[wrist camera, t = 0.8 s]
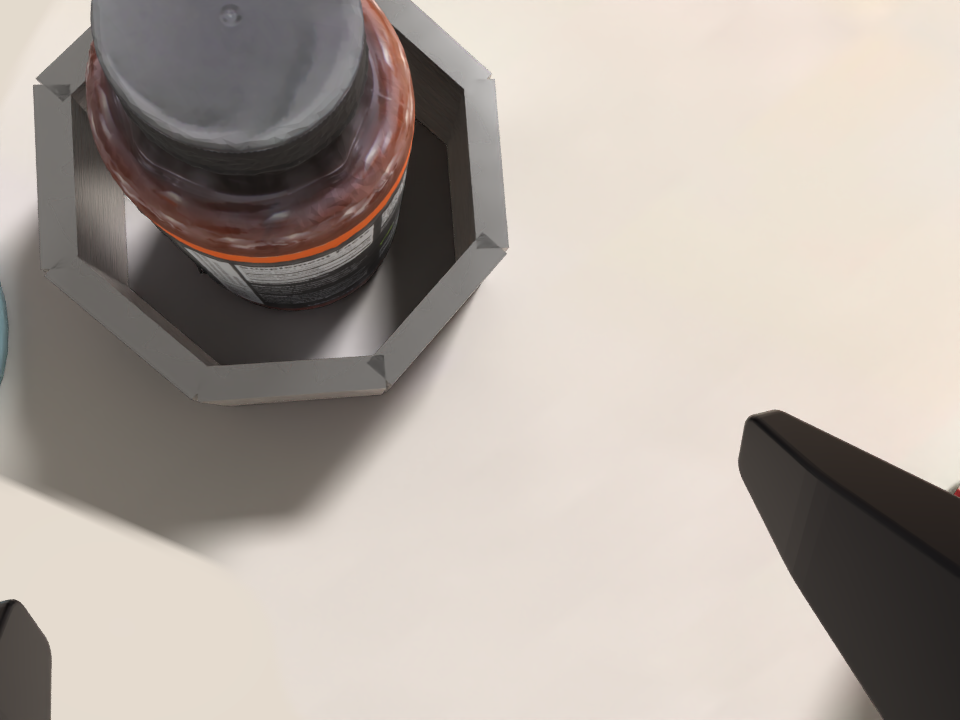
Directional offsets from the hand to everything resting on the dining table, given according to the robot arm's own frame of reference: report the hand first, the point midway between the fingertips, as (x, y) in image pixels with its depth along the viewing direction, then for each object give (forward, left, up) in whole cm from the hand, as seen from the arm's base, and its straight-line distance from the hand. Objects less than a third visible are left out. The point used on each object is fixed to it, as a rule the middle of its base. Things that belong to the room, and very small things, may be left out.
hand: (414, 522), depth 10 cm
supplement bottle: (+4, +7, -13) cm, 15 cm away
